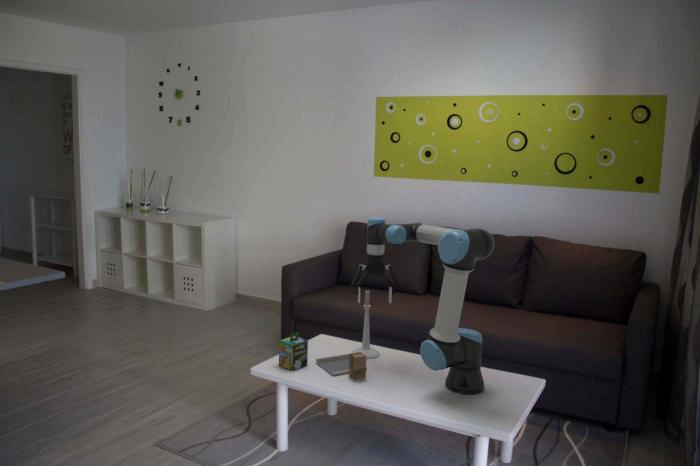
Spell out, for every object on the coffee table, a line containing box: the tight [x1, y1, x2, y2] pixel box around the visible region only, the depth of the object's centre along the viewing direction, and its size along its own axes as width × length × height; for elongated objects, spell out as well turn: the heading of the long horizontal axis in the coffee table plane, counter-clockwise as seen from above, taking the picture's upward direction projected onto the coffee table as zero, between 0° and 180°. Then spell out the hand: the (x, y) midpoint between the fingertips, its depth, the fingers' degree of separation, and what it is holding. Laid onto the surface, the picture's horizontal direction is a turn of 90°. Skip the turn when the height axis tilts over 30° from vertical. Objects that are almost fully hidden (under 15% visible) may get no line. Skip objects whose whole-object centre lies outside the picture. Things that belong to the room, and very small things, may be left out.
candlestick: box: [351, 290, 381, 360], centre depth 261 cm, size 13×13×30 cm
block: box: [348, 352, 367, 382], centre depth 233 cm, size 5×5×10 cm
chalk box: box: [278, 331, 309, 372], centre depth 245 cm, size 9×9×15 cm
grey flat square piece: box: [315, 353, 368, 377], centre depth 246 cm, size 16×16×2 cm
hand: (374, 302), depth 249 cm, fingers open, 13 cm apart
